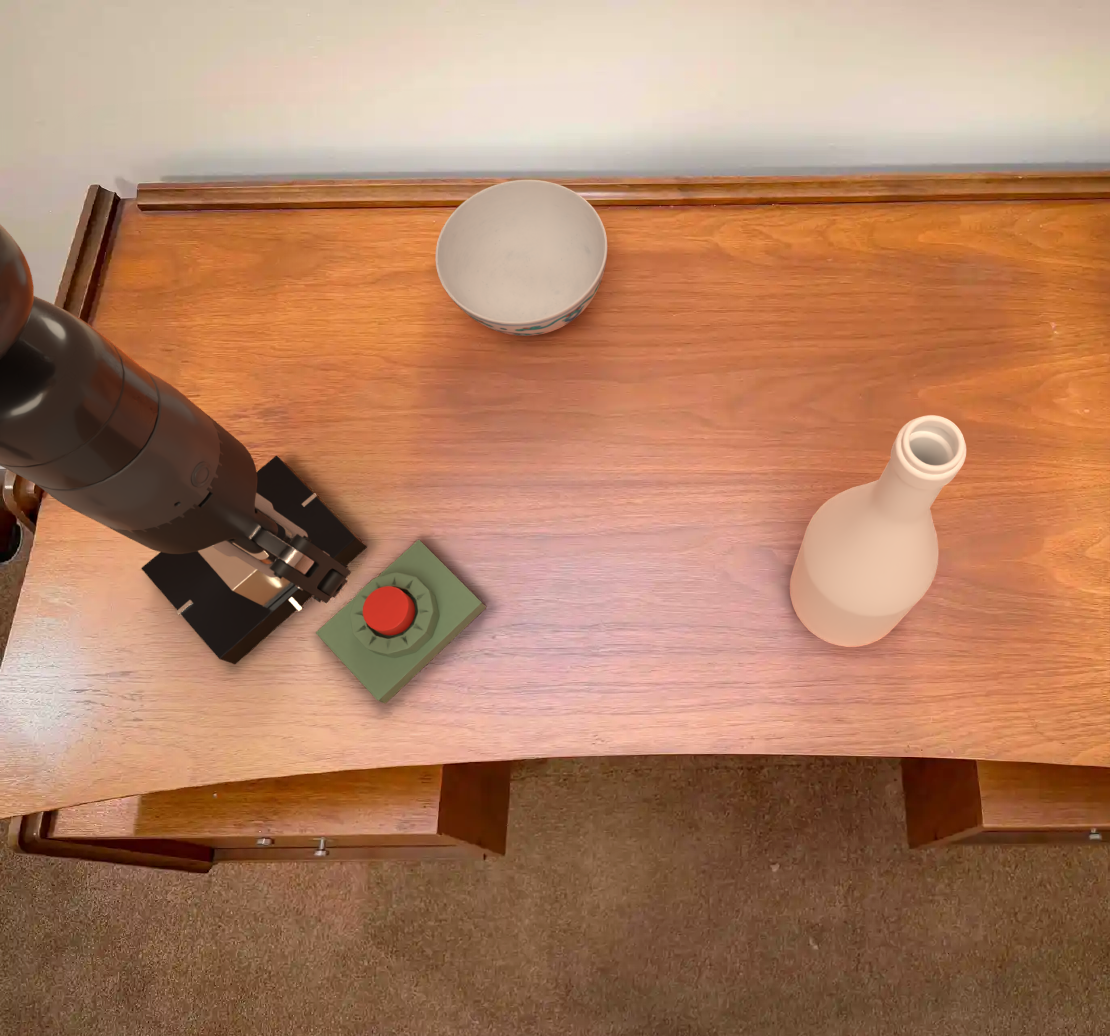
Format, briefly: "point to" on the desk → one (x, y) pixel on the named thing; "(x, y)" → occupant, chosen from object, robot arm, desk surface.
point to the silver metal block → (246, 576)
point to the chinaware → (522, 256)
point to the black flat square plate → (229, 615)
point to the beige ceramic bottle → (877, 540)
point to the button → (388, 610)
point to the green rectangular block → (434, 626)
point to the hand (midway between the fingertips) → (287, 554)
